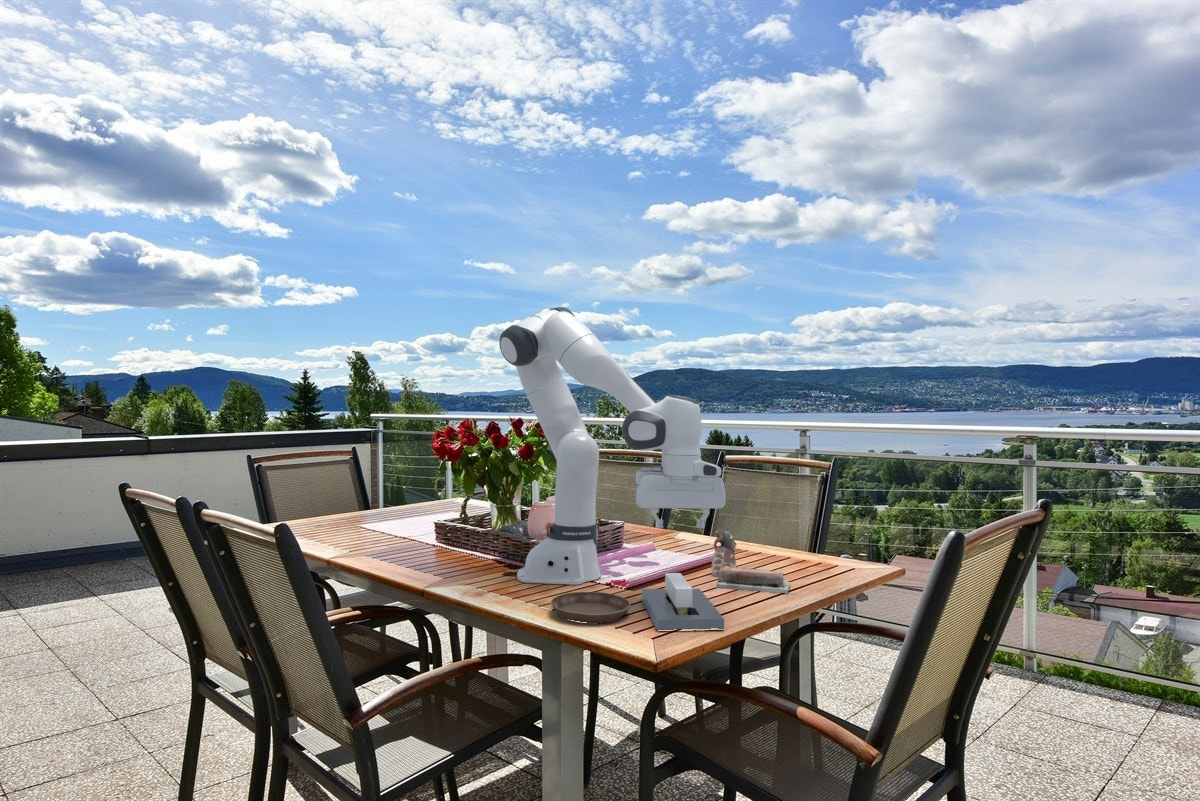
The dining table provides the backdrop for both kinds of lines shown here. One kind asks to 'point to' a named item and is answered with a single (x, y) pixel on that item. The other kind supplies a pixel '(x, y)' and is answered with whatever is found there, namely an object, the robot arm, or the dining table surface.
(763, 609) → the dining table surface
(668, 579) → the white pronged plug block
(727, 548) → the figurine
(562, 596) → the plant saucer
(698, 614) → the keyhole plate
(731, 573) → the packaged product
